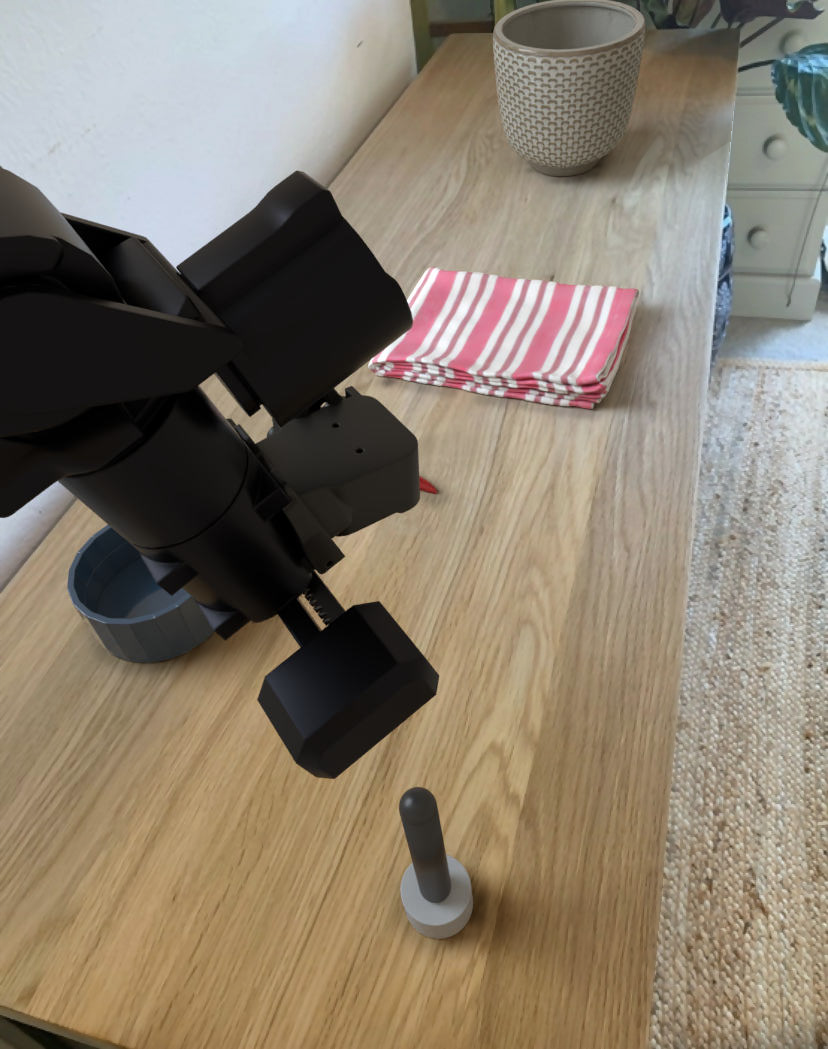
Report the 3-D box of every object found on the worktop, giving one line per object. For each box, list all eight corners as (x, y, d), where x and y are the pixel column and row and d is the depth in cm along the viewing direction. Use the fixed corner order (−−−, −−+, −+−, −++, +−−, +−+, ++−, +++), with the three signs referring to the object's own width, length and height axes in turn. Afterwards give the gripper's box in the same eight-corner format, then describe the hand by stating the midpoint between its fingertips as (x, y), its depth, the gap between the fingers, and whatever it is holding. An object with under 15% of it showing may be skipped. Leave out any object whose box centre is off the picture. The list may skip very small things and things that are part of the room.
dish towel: (605, 414, 76) (608, 384, 74) (366, 377, 83) (361, 348, 81) (640, 307, 87) (643, 276, 84) (424, 281, 94) (421, 253, 91)
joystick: (401, 936, 49) (367, 838, 38) (408, 865, 51) (379, 756, 41) (471, 942, 48) (456, 844, 38) (475, 870, 51) (462, 760, 40)
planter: (510, 129, 117) (508, -2, 105) (639, 132, 112) (653, -4, 101) (482, 191, 106) (477, 52, 94) (624, 197, 102) (637, 52, 90)
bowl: (71, 660, 64) (43, 621, 60) (120, 548, 71) (98, 507, 67) (212, 666, 62) (192, 626, 59) (247, 550, 70) (231, 509, 66)
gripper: (494, 490, 27) (575, 674, 40) (244, 256, 38) (369, 457, 51) (214, 715, 26) (388, 832, 39) (41, 407, 37) (219, 575, 50)
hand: (340, 649), depth 44 cm, fingers open, 9 cm apart
